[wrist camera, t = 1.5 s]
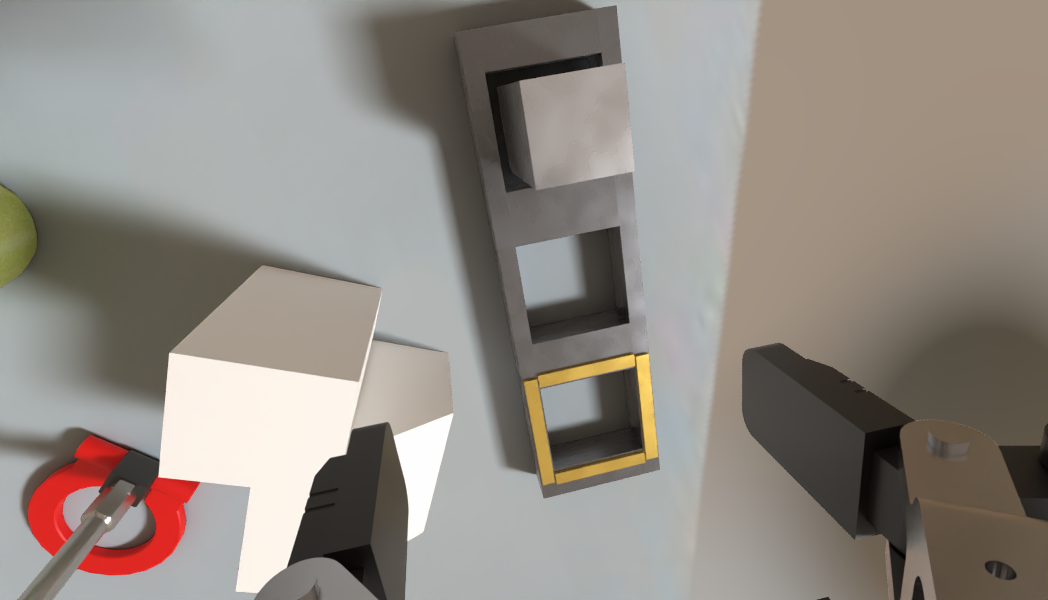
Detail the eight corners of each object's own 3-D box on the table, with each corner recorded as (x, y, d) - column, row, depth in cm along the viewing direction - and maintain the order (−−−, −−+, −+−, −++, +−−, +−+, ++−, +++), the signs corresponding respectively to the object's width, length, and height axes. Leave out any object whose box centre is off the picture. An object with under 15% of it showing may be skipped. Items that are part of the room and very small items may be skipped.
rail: (454, 37, 29) (456, 30, 26) (601, 13, 30) (617, 4, 27) (536, 474, 39) (544, 500, 36) (645, 448, 39) (661, 471, 37)
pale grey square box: (496, 87, 30) (519, 80, 23) (576, 73, 30) (624, 62, 23) (510, 170, 32) (536, 190, 24) (586, 156, 32) (634, 171, 25)
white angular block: (262, 264, 31) (169, 352, 20) (460, 303, 34) (476, 400, 23) (240, 428, 34) (148, 585, 23) (424, 452, 37) (422, 603, 25)
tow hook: (154, 579, 37) (219, 480, 35) (13, 814, 25) (100, 686, 23) (17, 529, 34) (79, 420, 32) (-212, 766, 22) (-136, 617, 20)
